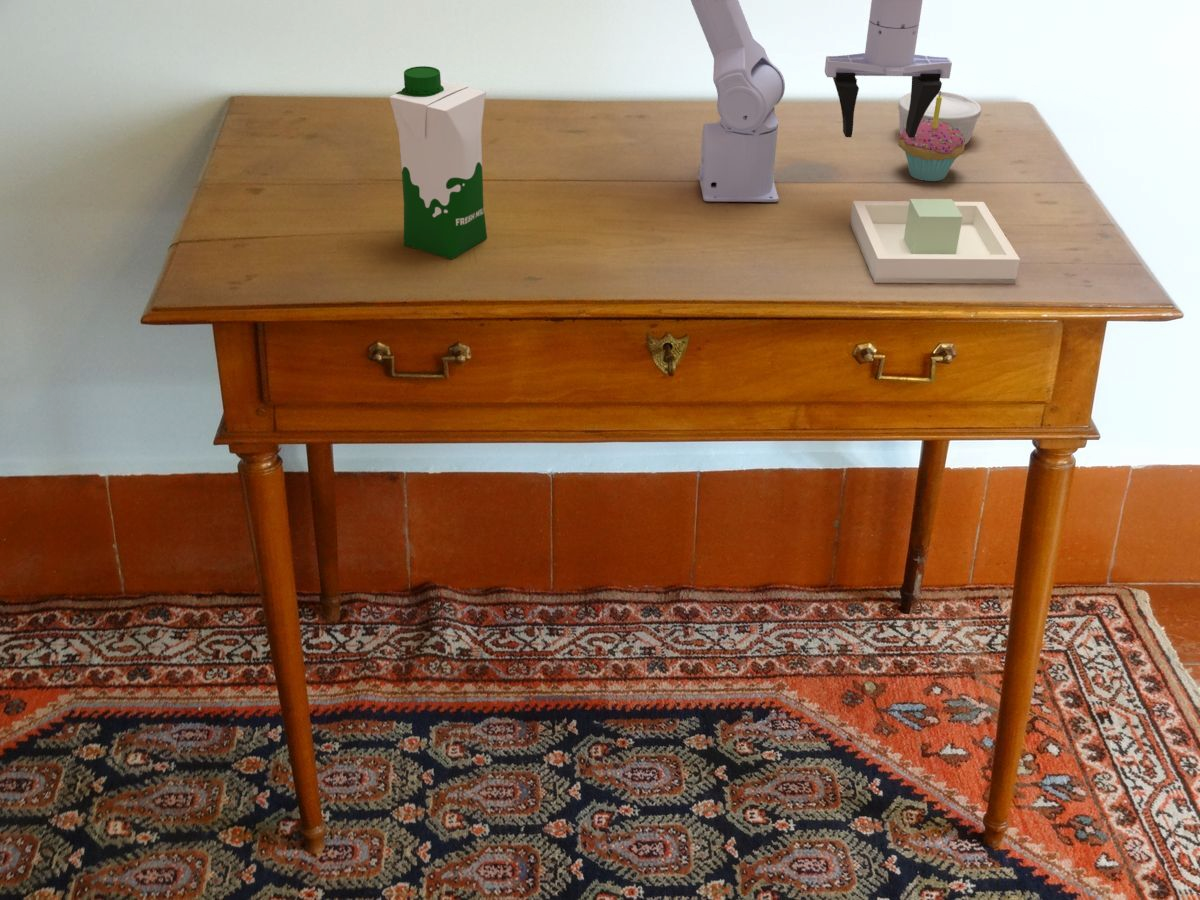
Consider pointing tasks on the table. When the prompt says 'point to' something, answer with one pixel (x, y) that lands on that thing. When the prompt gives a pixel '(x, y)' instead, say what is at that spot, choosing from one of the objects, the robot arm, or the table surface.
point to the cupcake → (932, 147)
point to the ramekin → (947, 112)
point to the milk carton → (440, 162)
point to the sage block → (932, 226)
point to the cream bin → (892, 262)
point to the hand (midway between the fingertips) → (878, 134)
